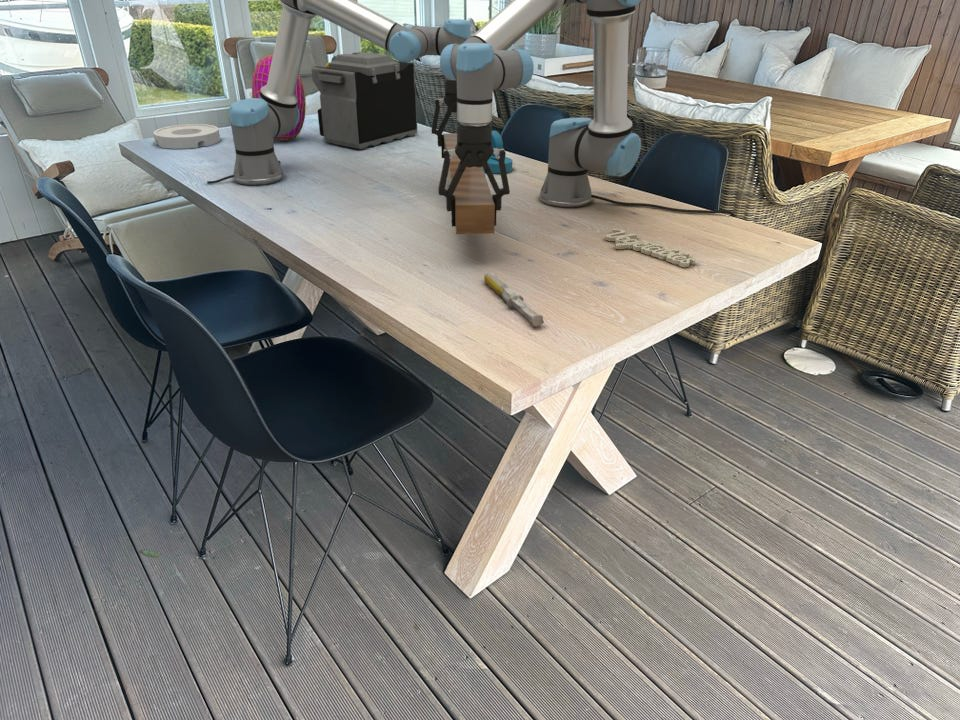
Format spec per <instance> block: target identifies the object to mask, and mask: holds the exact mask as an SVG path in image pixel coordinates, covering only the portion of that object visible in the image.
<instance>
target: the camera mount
mask: <svg viewBox="0 0 960 720" xmlns="http://www.w3.org/2000/svg"><path fill="white" fill-rule="evenodd" d="M492 146H493V148H496V149H500V148H504V142H503V138H502V135H501V134H500V132H499V131H497V130H492ZM487 162H488V165H489V167H490V169H491V171H492V173H493V174H500V168H499V163H498V159H496V157H495V154H492V156H491V157H490V158H489V160H488V161H487ZM504 162H505V167H506V173H510V172H512V171H513V159H512V158H510V157H508V156H505V161H504ZM482 168H483V166H482ZM483 171H484V173H486V172H485V170H484V168H483Z"/></svg>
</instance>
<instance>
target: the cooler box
mask: <svg viewBox="0 0 960 720" xmlns="http://www.w3.org/2000/svg"><path fill="white" fill-rule="evenodd" d="M335 56H336V58H335V60H334V61H332V62H331V61H330V62H328V63H329V68H326V66H325V67H324V66H312V67H311V77H312V83H314V85H315V87H316V89H317V90H318V92H319V101H320V108H319V109H317V119H318V120H317V121H318V128H319V136H321V137H323V139H324V142H325V143H328V144H332V145H336V146H337V145H338V146H342V147H347V148H351V149H356V150H365V149H367V148H368V147H370V146H371V147H376V146H379V145H380V144H381V143H384V144H387V143H391V142H393V141H394V140H401V139H402V140H403V139H404V138H405V137H414V136H415V135H416V134H417V133H418V108H417V107H418V103H417V88H416V73H415V70H416V69H415V63H414V62H401V61H398V60H395V59H394V58H393V56H392V54H384V53H374V52H365V51H356V52H352V53H341V54H336V55H335Z"/></svg>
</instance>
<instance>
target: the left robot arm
mask: <svg viewBox="0 0 960 720" xmlns="http://www.w3.org/2000/svg"><path fill="white" fill-rule="evenodd" d="M278 1H279V2H280V4H281V6H282V11H281V14H280V20H279V24H278V29H277V35H276V39H275V44H274V49H273V54H272V55H273V58H272V63H271V68H270V72H269V77H268V82H267V85H265V86H263V87H261V90H260V95H259V98H252V97H251V98H245V99H240V100H237V101H234V102H233V103H231V104H230V106H229V107H228V113H229V123H230V127H231V134H232V139H233V145H234V149H235V150H234V152H235V160H234V168H233V174H231V175H228V176H224V177H222V178H219V179H216V180H207V181H206V183H207V185H210V184H211V185H212V184H217V183H220V182H223V181H226V180H230V179H232V178H233V180H234V182H235V183H237V184H238V185H243V186H264V185H271V184H276V183H279V182H280V181H282V180H283V179H284V178H285V175H284V170H283V168H282V163H281V161H280V160H278V157H277V155H276V153H275V146H274V140H275V139H274V138H277V137H279V136H282V135H285V134H287V133H289V132H290V131H292V130H293V129H294V128H295V127H296V126H297V124H298V122H299V116H300V114H299V109H298V108H297V102H298V99H297V97H296V96H295V94H294V93H295V89H296V85H297V80H298V76H299V75H300V71H301V67H302V63H303V59H304V54H305V50H306V47H307V42H308V37H309V32H310V29H311V24H312V20H313V19H314V18H316V17H317V16H319V17H320V18H322V19H324V20H326V21H329V22H330V23H332V24H334V25H336V26H338V27H340V28H342V29H344V30H346V31H348V32H350V33H352V34H354V35H355V36H358V37H360V38H361V39H364V40H365V41H367V42H369V43H372V44H374V45H375V46H377V47H379V48H381V49H383V50H386V51H387V52H388V53H390V55H391V57H392V58H393V59H394V60H395V61H400V62H409V63H411V62H413V61H415V60H417V59H419V58H422V57H425V56H438V57H440V56H441V53H442V51H443V49H444V48H445V47H446V46H448V45H450V44H459V45H460V44H462V43H464V42H465V41H466V40H467V39H469V38H470V37H471V36H472V35H471V33H472V32H471V23H470V21H469V20H467V19H461V18H459V19H456V18H455V19H454V18H453V19H451V18H450V19H446V20H444V21H443V26H426V25H425V26H424V25H407V26H404V25H402V24H401V23H398V22H397V21H394V20H393V19H390V18H388V17H387V16H384V15H383V14H380V13H379V12H377V11H375V10H373V9H371V8H369V7H367V6H366V5H363V4H361V3H359V2H358V1H355V0H278ZM444 77H445V78H446V79H445V80H444V96H443V97H442V98H435V99H434V105H435V108H434V109H435V110H434V114H433V120H432V125H431V129H430V130H431V134H433V135H435V136H437V146H438V147H440V149H441V150H440V151H441V152H440V153H441V159H444V155H443V149H444V131H445V128H446V126H447V124H448V121H449V119H450V117H451V115H452V113H456V114H457V80H454V79H450V78H447V77H446V76H445V75H444ZM443 104H445V105H446V107H447V108H446V111H445V114H444V116H443V118H442V121H441V122H440V125H439V127H438V121H439V116H440V112H441V111H440V110H441V107H442V106H443ZM437 127H438V128H437Z"/></svg>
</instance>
